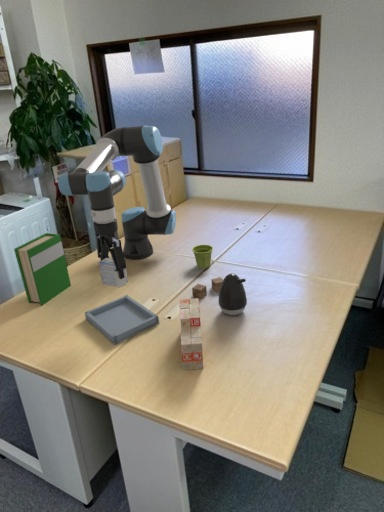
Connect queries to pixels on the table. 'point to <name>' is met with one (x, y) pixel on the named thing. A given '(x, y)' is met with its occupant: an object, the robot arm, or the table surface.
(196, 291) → the walnut block
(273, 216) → the table surface
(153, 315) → the tray
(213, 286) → the walnut block
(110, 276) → the medicine box
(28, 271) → the hardback book
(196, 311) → the stack of blocks
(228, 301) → the pump dispenser
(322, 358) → the table surface
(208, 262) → the plant pot
